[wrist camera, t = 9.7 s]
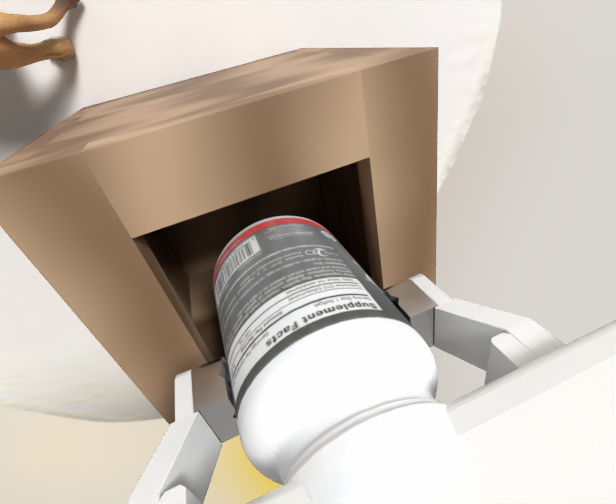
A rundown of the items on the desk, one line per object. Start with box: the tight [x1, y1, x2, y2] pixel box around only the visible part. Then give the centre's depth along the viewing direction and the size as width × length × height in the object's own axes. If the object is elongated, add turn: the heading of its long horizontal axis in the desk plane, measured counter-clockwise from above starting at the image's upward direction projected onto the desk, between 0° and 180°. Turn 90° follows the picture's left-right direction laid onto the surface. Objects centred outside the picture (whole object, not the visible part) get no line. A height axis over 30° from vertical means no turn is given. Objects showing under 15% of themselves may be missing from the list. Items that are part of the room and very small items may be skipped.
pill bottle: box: [213, 216, 468, 504], centre depth 11 cm, size 6×6×10 cm
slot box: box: [0, 47, 438, 424], centre depth 19 cm, size 14×14×14 cm
